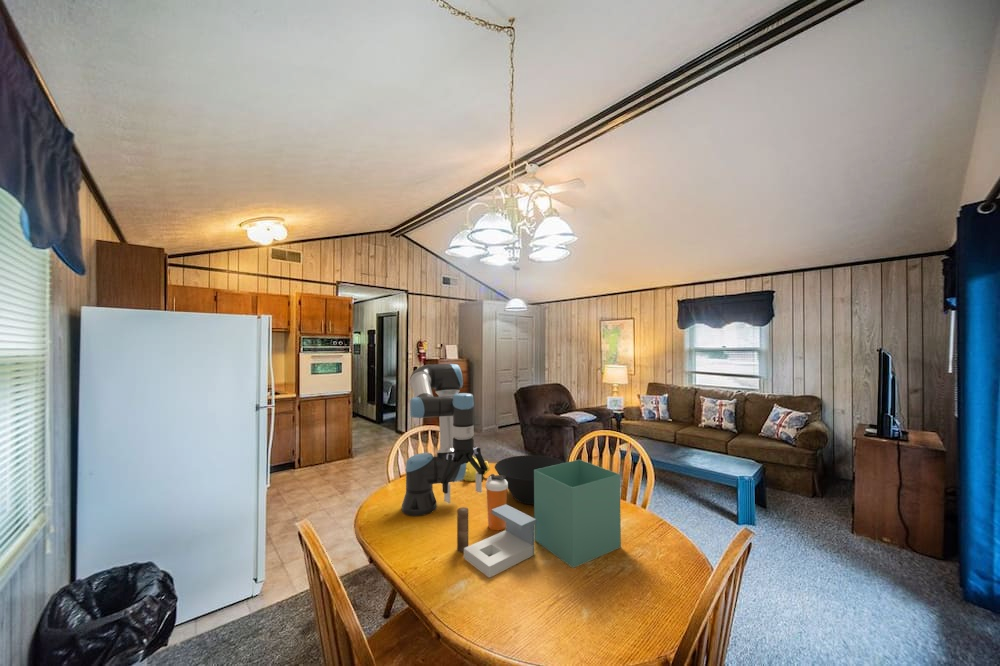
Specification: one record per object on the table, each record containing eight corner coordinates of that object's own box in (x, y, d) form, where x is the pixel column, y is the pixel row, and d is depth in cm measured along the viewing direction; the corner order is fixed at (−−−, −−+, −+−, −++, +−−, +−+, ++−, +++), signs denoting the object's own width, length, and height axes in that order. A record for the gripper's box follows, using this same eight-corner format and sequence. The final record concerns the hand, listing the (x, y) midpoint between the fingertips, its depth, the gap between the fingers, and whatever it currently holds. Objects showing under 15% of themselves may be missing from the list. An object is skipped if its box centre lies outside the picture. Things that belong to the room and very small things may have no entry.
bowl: (581, 493, 183) (581, 462, 184) (550, 523, 153) (550, 486, 154) (518, 479, 202) (518, 451, 203) (480, 503, 172) (479, 470, 173)
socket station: (462, 557, 129) (462, 520, 130) (506, 537, 142) (505, 504, 142) (491, 579, 117) (491, 538, 117) (536, 555, 130) (536, 519, 130)
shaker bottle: (505, 532, 146) (505, 480, 146) (483, 530, 148) (483, 479, 148) (509, 522, 154) (509, 472, 155) (488, 520, 156) (488, 471, 157)
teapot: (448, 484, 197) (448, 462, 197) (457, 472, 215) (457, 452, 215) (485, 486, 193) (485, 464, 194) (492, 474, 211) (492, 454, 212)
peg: (455, 548, 135) (454, 509, 135) (464, 545, 137) (464, 506, 137) (461, 553, 131) (461, 513, 132) (470, 549, 134) (470, 509, 134)
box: (572, 568, 123) (572, 487, 124) (534, 540, 140) (533, 469, 141) (621, 547, 135) (620, 474, 136) (580, 523, 153) (579, 459, 153)
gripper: (438, 445, 124) (438, 510, 124) (496, 433, 141) (496, 490, 140) (427, 440, 130) (427, 502, 130) (484, 429, 146) (484, 484, 146)
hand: (463, 496), depth 135 cm, fingers open, 13 cm apart
